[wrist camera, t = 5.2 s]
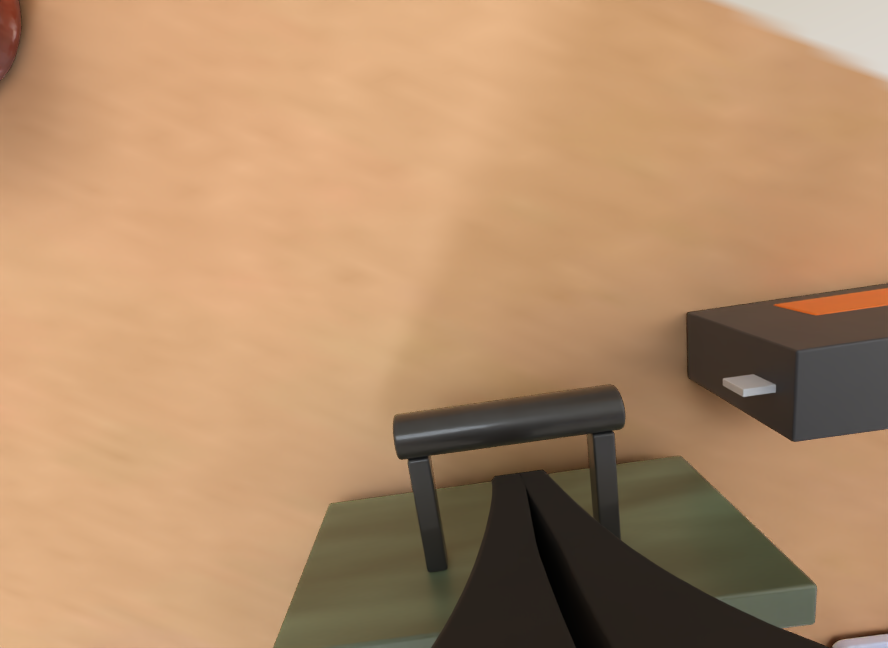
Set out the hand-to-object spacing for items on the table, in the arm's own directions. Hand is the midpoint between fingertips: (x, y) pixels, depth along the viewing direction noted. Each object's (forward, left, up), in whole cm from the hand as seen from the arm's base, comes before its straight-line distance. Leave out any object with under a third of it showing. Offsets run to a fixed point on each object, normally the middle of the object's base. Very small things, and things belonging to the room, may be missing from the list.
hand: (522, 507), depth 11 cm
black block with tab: (-11, -2, -6) cm, 13 cm away
